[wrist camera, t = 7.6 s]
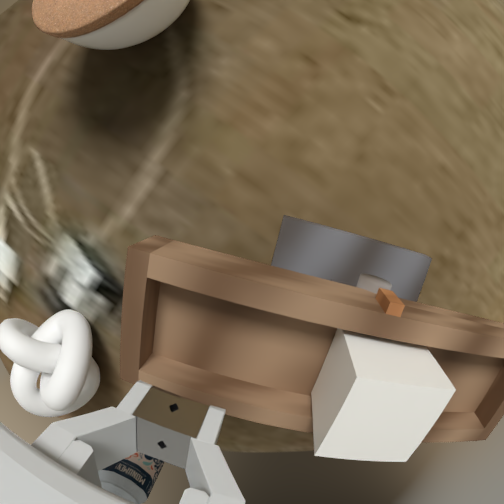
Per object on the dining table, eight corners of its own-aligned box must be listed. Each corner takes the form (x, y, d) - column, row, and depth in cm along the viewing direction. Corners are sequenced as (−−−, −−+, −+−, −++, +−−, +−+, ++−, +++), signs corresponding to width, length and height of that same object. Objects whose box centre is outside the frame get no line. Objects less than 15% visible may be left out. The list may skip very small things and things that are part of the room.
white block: (420, 338, 15) (456, 389, 10) (386, 404, 16) (405, 461, 11) (339, 321, 15) (356, 377, 10) (311, 392, 16) (314, 455, 12)
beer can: (191, 422, 29) (154, 510, 17) (161, 432, 30) (121, 511, 18) (162, 391, 28) (110, 476, 17) (133, 403, 29) (81, 479, 18)
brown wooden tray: (482, 273, 22) (555, 317, 12) (431, 386, 25) (470, 458, 15) (198, 194, 23) (133, 205, 13) (174, 330, 26) (120, 401, 16)
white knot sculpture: (128, 402, 29) (91, 455, 21) (50, 377, 31) (8, 414, 22) (111, 311, 27) (54, 356, 18) (29, 294, 28) (-26, 323, 20)
